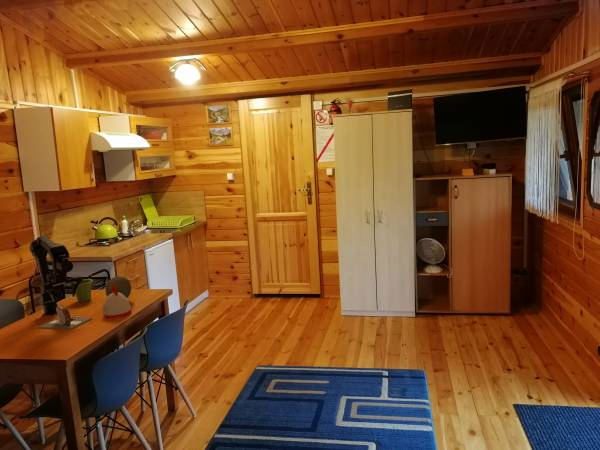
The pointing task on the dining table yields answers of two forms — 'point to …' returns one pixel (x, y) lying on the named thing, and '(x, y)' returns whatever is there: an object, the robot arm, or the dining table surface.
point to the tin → (63, 314)
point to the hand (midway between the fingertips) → (64, 299)
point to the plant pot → (84, 290)
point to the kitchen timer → (116, 305)
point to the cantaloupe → (119, 286)
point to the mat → (60, 325)
